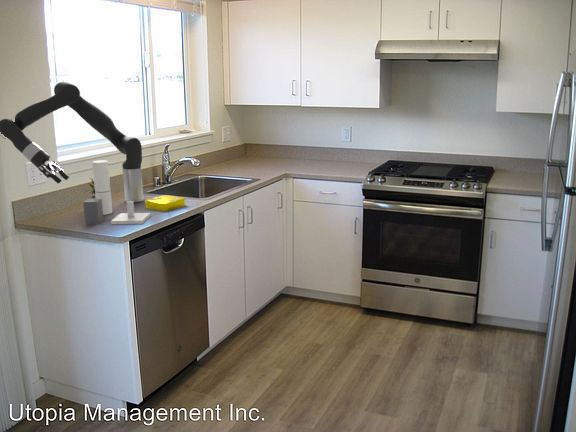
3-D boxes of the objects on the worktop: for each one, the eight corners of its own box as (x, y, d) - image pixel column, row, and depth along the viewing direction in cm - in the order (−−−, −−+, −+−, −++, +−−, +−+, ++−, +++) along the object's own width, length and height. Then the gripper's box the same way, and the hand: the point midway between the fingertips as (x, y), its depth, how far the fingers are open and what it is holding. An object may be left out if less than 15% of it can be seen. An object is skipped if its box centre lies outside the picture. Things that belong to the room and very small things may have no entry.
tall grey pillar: (90, 220, 274) (88, 198, 272) (103, 220, 274) (101, 198, 272) (85, 223, 268) (83, 202, 266) (99, 223, 268) (96, 201, 266)
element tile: (165, 212, 288) (165, 202, 287) (143, 208, 296) (143, 199, 295) (187, 206, 300) (186, 196, 299) (165, 202, 308) (164, 193, 307)
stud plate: (120, 216, 280) (119, 198, 278) (150, 216, 280) (149, 198, 278) (111, 224, 267) (109, 205, 265) (142, 223, 266) (140, 205, 264)
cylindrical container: (114, 210, 291) (109, 160, 285) (110, 214, 284) (105, 162, 278) (99, 211, 291) (94, 160, 285) (95, 214, 284) (90, 162, 278)
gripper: (34, 151, 257) (62, 177, 259) (48, 147, 271) (75, 171, 273) (23, 163, 259) (52, 189, 261) (37, 158, 272) (65, 183, 275)
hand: (64, 180), depth 267 cm, fingers open, 8 cm apart
